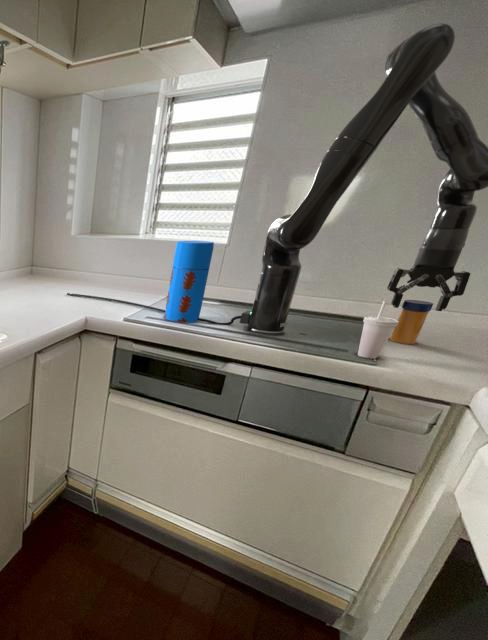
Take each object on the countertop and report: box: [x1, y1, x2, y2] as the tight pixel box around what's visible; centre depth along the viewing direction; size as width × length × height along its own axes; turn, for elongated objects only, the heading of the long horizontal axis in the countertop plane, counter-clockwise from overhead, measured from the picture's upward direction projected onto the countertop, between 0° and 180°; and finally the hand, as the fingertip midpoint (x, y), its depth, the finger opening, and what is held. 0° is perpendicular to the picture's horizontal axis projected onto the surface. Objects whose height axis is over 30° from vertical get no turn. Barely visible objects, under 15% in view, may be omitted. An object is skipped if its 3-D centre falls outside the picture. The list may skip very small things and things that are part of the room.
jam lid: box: [401, 299, 434, 312], centre depth 109 cm, size 6×6×2 cm
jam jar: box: [389, 307, 430, 345], centre depth 111 cm, size 5×5×11 cm
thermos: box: [164, 240, 215, 324], centre depth 133 cm, size 11×11×25 cm
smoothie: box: [357, 300, 399, 359], centre depth 99 cm, size 6×6×14 cm
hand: (416, 308), depth 110 cm, fingers open, 8 cm apart
